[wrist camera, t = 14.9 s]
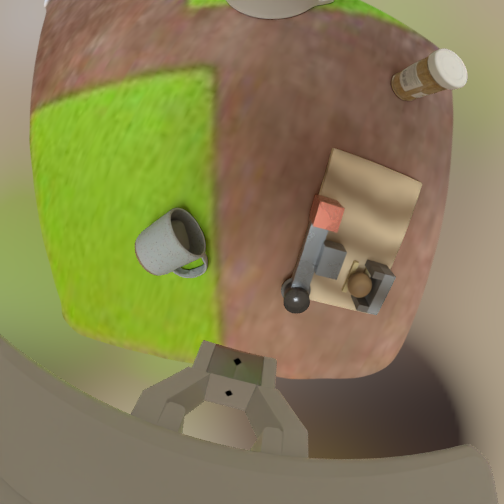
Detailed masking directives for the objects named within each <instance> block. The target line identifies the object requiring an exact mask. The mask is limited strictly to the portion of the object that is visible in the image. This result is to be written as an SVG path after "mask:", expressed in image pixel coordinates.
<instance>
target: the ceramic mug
mask: <svg viewBox="0 0 504 504" xmlns="http://www.w3.org/2000/svg"><path fill="white" fill-rule="evenodd" d="M205 250H206V243H205V239H204V235H203V232H202V230H201V228H200V227H199V225H198V223H197V222H196V220H195V219H194V218H193V217H192V215H191V214H189V213H188V212H187V211H186V210H184V209H182V208H173V209H172V210H170V211H169V212H167V213H166V214H165V215H163V216H162V217H161V218H159V219H158V220H157V221H155V222H154V223H153V224H151V225H150V226H149V227H147V228H146V229H145V230H143V231H142V232H141V234H140V235H139V236H138V237H137V239H136V242H135V253H136V257H137V259H138V261H139V263H140V264H141V265H142V267H143V268H144V269H145V270H146V271H148V272H149V273H151V274H153V275H164V274H168V273H170V272H174V273H175V274H177V275H179V276H181V277H185V278H194V277H198V276H200V275H202V274H203V273H204V272H205V271H206V269H207V263H208V259H207V256H206V253H205ZM200 257H201V258H202V260H203V262H204V264H203V265H202V266H200V267H198V268H195V269H191V270H185V269H182V268H180V267H182V266H184V265H186V264H188V263H190V262H192V261H195V260H197V259H199V258H200Z"/></svg>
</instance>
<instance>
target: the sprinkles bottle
mask: <svg viewBox="0 0 504 504" xmlns="http://www.w3.org/2000/svg"><path fill="white" fill-rule="evenodd" d="M466 82H467V70H466V67H465V65H464V63H463V62H462V60H461V59H460V57H459V56H458V55H456V54H455V53H454V52H452V51H451V50H449V49H439V50H436V51H434V52H433V53H431V54H430V55H429V57H427V58H425V59H422V60H420V61H418V62H416V63H414V64H413V65H411V66H409V67H407V68H406V69H404V70H403V71H401V72H400V73H396V74H395V75H394V76H393V77H392V80H391V85H392V89H393V91H394V93H395V94H396V95H397V96H398V97H399V98H400V99H402V100H405V101H412V100H414V99H416V98H420V97H424V96H427V95H430V94H433V93H436V92H438V91H442V90H446V89H449V90H453V89H457V88H461V87H463V86H464V85H465V84H466Z"/></svg>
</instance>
